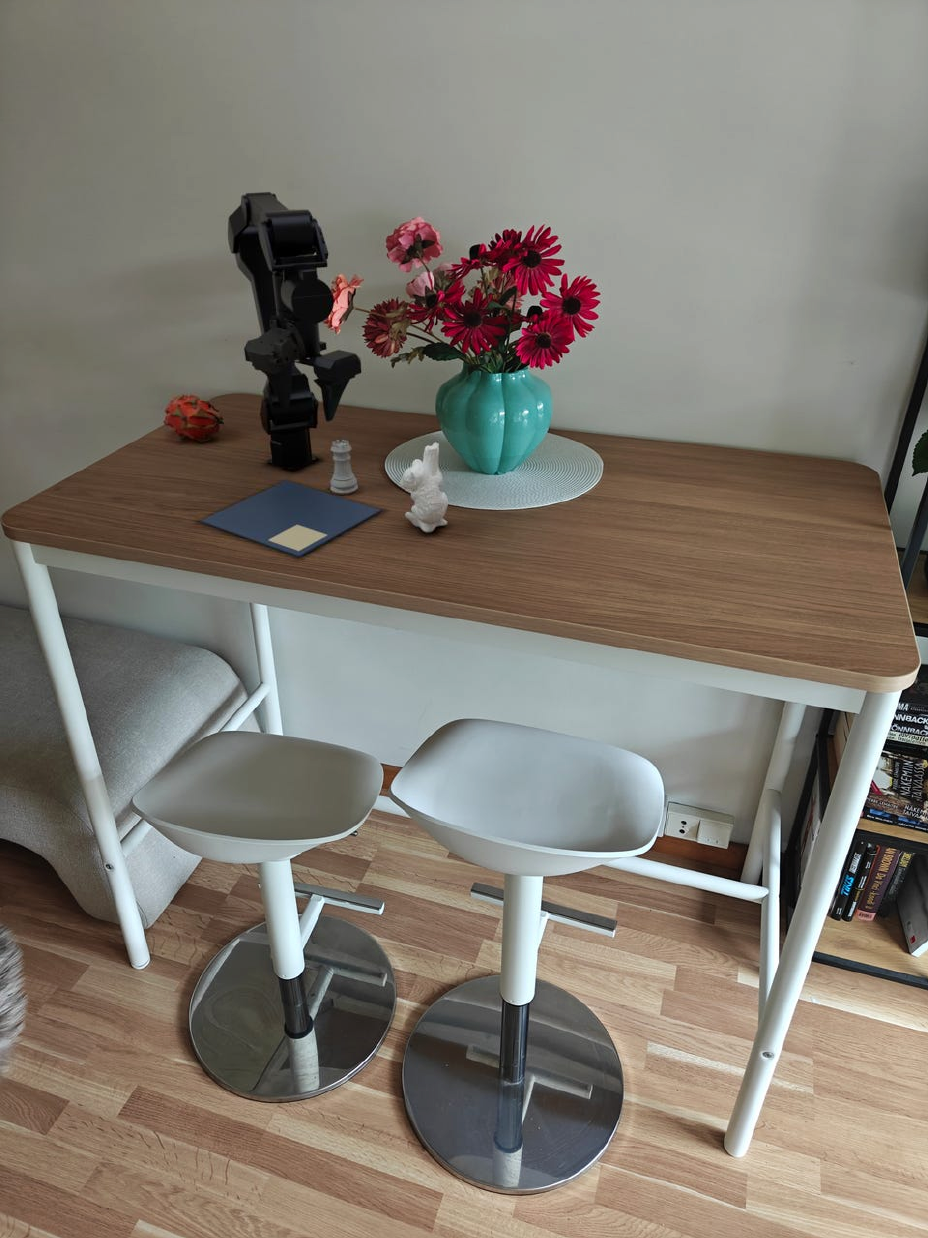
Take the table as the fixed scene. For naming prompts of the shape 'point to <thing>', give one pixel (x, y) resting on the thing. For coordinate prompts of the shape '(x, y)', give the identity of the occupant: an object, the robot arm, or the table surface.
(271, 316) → the robot arm
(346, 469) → the rook chess piece
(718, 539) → the table surface
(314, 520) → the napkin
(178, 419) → the dragon fruit
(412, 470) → the white bunny statuette
